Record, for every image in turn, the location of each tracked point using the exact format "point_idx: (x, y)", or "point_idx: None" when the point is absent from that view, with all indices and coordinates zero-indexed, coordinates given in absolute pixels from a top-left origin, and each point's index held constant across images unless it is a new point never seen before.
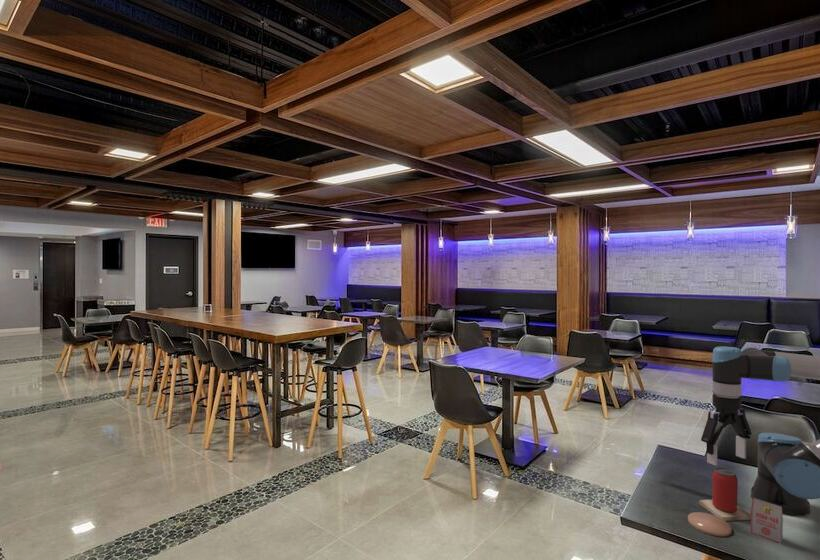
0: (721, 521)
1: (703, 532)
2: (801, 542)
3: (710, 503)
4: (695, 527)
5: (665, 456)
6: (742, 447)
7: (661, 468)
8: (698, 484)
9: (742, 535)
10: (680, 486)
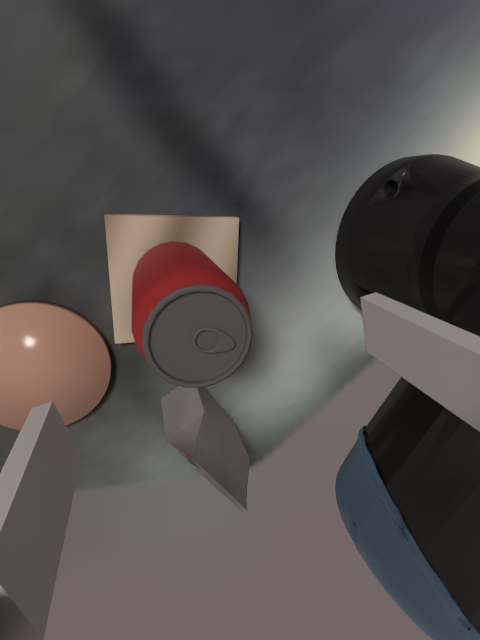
0: (92, 365)
1: None
2: (266, 432)
3: (139, 246)
4: None
5: None
6: (420, 375)
7: None
8: (235, 32)
9: (122, 413)
10: (123, 30)
